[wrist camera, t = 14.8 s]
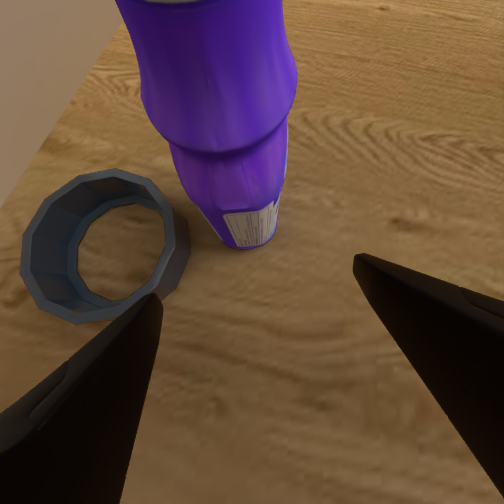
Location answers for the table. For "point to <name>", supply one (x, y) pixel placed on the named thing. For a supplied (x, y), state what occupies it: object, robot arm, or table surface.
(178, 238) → the ring
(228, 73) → the bottle
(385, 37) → the table surface
